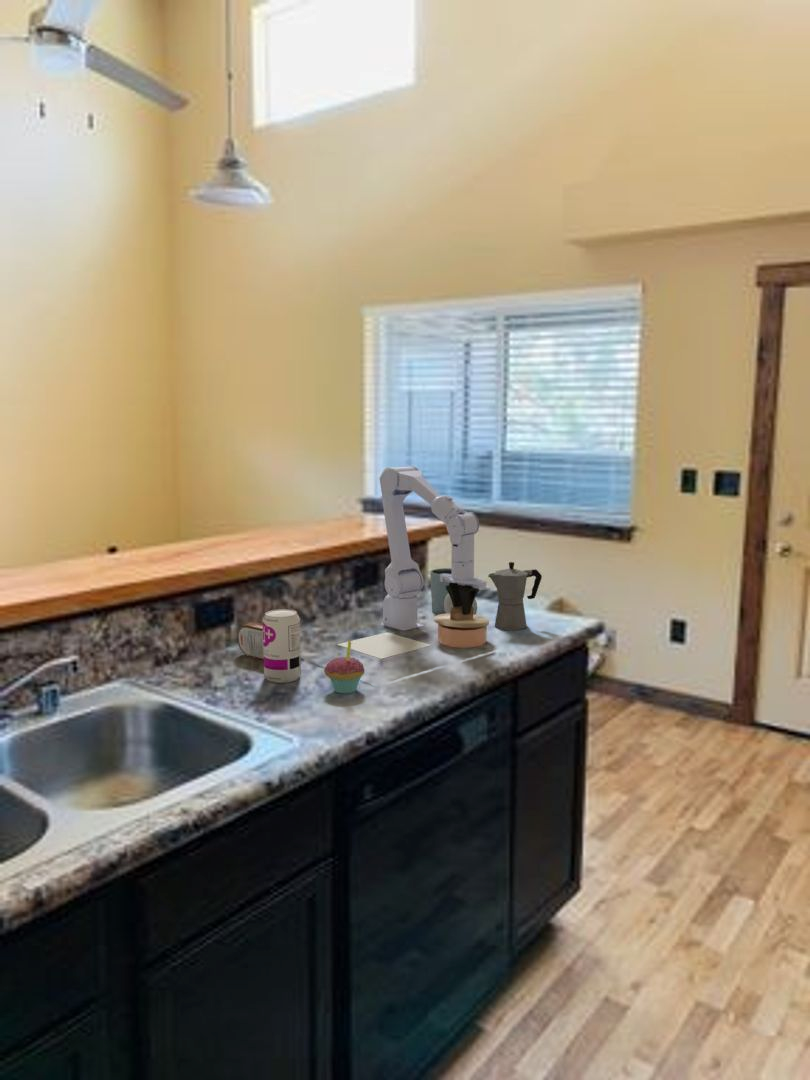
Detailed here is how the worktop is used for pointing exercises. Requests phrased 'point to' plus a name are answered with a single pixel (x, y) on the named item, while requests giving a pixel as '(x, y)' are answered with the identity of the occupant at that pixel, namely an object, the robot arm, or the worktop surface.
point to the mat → (384, 645)
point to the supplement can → (281, 646)
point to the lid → (461, 619)
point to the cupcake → (344, 672)
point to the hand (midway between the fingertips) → (462, 613)
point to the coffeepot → (513, 596)
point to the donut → (449, 605)
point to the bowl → (461, 636)
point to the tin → (251, 639)
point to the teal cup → (438, 590)
